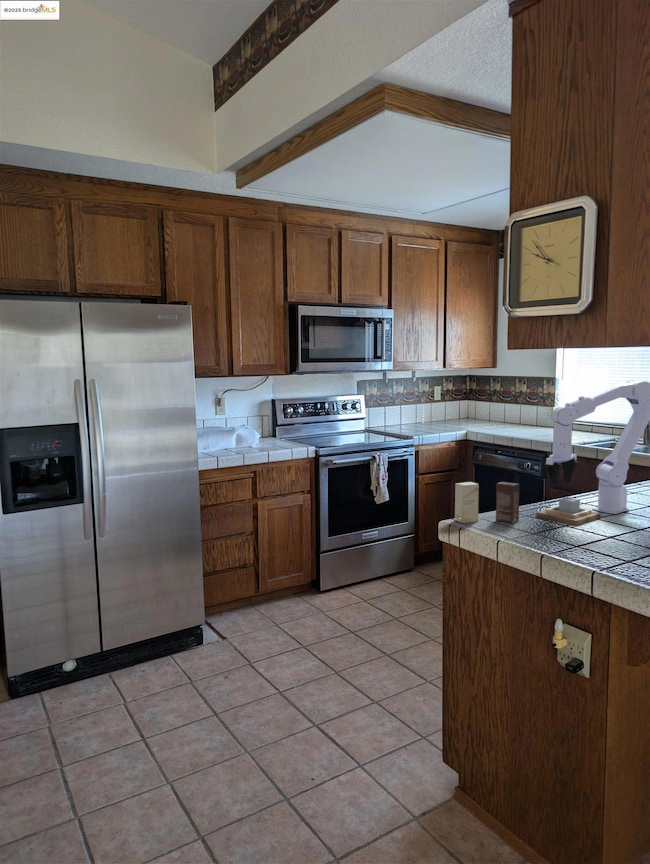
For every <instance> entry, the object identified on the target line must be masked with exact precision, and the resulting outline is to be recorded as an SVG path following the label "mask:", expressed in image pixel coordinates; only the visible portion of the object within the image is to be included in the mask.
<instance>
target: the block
mask: <svg viewBox="0 0 650 864" xmlns="http://www.w3.org/2000/svg"><path fill="white" fill-rule="evenodd" d="M580 502H581V499H580V498H574V497H570V496H565V497H561V498H559V499H558V506H559V511H560V512H565V513H570V514H575V513H579V510H580V508H581V507H580V506H581V505H580V504H581V503H580Z"/></svg>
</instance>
